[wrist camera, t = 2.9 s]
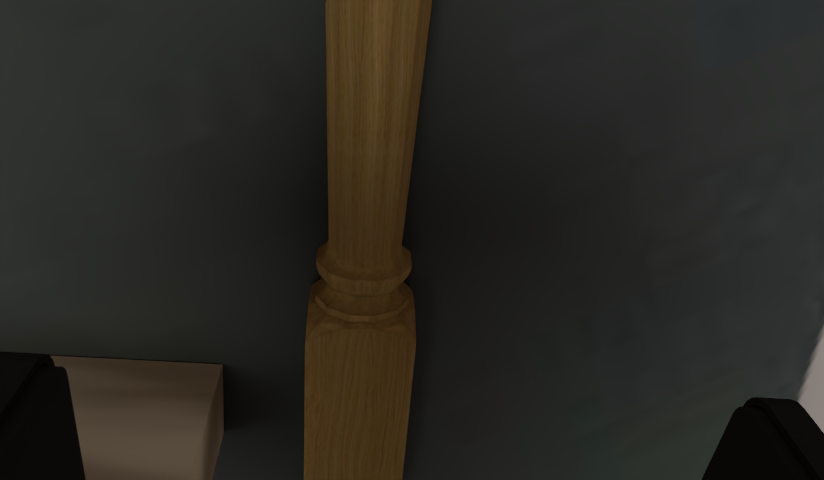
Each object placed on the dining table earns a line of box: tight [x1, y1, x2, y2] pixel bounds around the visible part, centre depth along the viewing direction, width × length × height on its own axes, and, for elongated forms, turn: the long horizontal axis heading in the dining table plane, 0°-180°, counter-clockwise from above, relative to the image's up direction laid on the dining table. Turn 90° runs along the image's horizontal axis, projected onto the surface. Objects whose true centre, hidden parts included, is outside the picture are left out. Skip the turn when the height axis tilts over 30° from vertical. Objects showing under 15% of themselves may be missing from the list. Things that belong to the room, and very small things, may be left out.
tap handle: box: [304, 0, 432, 480], centre depth 18 cm, size 3×3×30 cm
